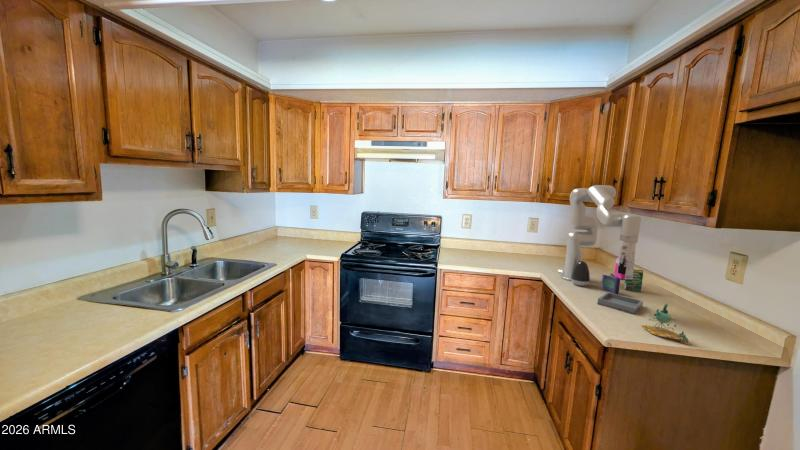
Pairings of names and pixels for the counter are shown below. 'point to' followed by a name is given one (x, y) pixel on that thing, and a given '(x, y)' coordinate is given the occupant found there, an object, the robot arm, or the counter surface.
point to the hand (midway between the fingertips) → (623, 272)
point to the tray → (620, 303)
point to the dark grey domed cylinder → (581, 274)
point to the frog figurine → (665, 318)
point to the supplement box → (629, 270)
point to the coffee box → (635, 281)
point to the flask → (610, 283)
